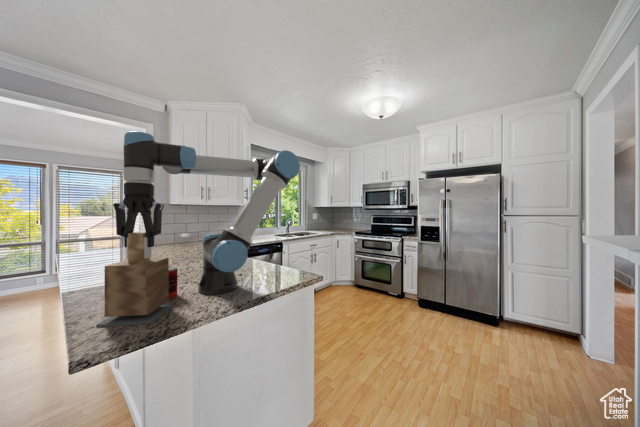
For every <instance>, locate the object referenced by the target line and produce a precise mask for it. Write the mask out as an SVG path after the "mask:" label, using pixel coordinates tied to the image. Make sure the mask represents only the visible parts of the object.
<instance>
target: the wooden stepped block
mask: <svg viewBox="0 0 640 427" xmlns="http://www.w3.org/2000/svg"><path fill="white" fill-rule="evenodd" d="M145 236H147V235H146V231H139V232H138V231H137V232H134V231H133V233H128V259H125V260H121V261H118V262H114V263H112V264H107V265H104V317H106V318H109V317H113V316H132V315H149V314H150V313H152V312H153V311H154V310H156V309H157V308H159V307H160V306H161V305H163V304H167V302H169V300H170V299H169V264H170V263H169V259H170V258H169V257H150V258H146V259H144V237H145Z"/></svg>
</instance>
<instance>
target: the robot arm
mask: <svg viewBox="0 0 640 427" xmlns="http://www.w3.org/2000/svg"><path fill="white" fill-rule="evenodd" d="M123 138H124V139H123V181H125V183H123V194H124V198H123V201H120V202H118V203H117V202H115V203H113V204H112V206H113V208H114V210H115V223H116V226H115V227H116V228H115V229H116V235H117V236H122V237H123V240H124V241H123V246H124V248H125V249H126V260H128V233H134V230H135V226H136V221H137V217H138V215H139V214H140V216H141V217H142V222H143V227H144V232H146V235H147V236H145V237H144V259H146V258H152V248H153V247H154V246H155V237H156V236H158V235H161V234H162V219H163V215H162V214H163V209H164V207H165V204H164V203H159V202H157V201H156V200H155V198H154V196H155V185H154V184H153V183H154V182H155V166H157V167H162V169H163V170H164V172H166V173H168V174H170V175H178V174H185V175H186V174H187V175H188V174H189V175H190V174H191V175H204V176H205V175H206V176H208V175H209V176H222V177H237V178H238V177H241V178H251V179H252V180H254V181H259V182H258V185H256V187H255V189H254V191H253V192H252V193H251V195H250V197H249V198H248V200H247V201H246V203H245V204H244V206H243V208H241V210H240V212H239V213H238V214H237V217H236V218H235V219H234V222H232V224H231V226H230V227H226V228H224V229H223V230H222V232H221V233H213V234H205V235H204V236H203V239H202V245H203V248H202V251H203V252H202V259H203V260H202V265H203V266H202V274H201V276H200V280H199V284H198V293H199V294H202V295H220V294H227V293H230V292H232V291H235V290H236V289H237V288H238V279H237V276H236V273H235V271H238V270H239V269H241V268H242V267H244V265H245V264H246V262H247V260H248V254H249V253H248V251H249V249H250V248H251V246H252V240H251V238H253V235H254V233H255V231H256V230H257V228H258V227H259V225H260V223H261V221H262V220H263V219H264V217H265V215H266V214H267V212H268V210H269V209H270V207H271V205H272V203H273V202H274V201H275V199H276V197H277V196H278V194H279V192H280V191H281V190H282V189H286V187H287V186H288V185H289V183H290V181H291V179H294V178H296V177H297V175H298V174H299V173H300V171H301V164H300V160H299V158H298V156H297V155H296V154H295V153H294V152H292V151H291V150H286V149H285V150H279V151H278V152H276V153H274V154H272V155H270V156H268V157H264V158H253V159H239V158H230V157H229V158H228V157H219V156H208V155H200V154H199V155H198V154H197V152H196V149H195V148H194V147H191V146H186V145H180V144H179V145H178V144H171V143H164V142H158V141H155V138H154V136H153V134H150V133H148V132H147V133H146V132H143V131H139V130H138V131H137V130H132V131H127V132H125V133H124V137H123ZM126 208H127V211H126ZM152 208H153V218H152V211H151V209H152ZM126 215H127V217H126Z"/></svg>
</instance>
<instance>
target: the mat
mask: <svg viewBox="0 0 640 427" xmlns="http://www.w3.org/2000/svg"><path fill="white" fill-rule="evenodd" d="M174 306H175V304H174V303H164V304H163V305H161V306H160V307H159V308H157V309H156V310H154V311H153V312H152V313H150V314H149V315H132V316H113V317H106V319H104V320H103V321H101V322H99V323H97V324H96V326H95V327H96V328H102V327H103V328H105V327H120V326H138V325H139V326H140V325H152V324H153V323H154V322H155V321H157V320H158V319H159V318H160V317H162V315H164V314H165V313H166V312H167V311H169V310H170V309H171V308H172V307H174Z"/></svg>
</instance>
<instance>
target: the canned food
mask: <svg viewBox="0 0 640 427" xmlns="http://www.w3.org/2000/svg"><path fill="white" fill-rule="evenodd" d="M177 295H178V267H177V266H172V265H171V266H169V300H172V299H175V298H176V297H177Z"/></svg>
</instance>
